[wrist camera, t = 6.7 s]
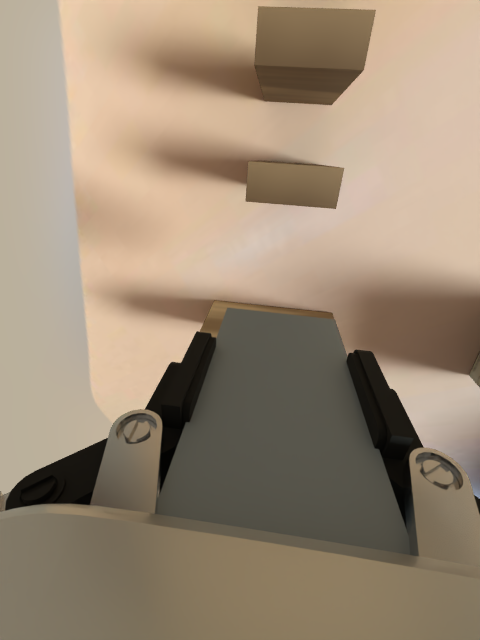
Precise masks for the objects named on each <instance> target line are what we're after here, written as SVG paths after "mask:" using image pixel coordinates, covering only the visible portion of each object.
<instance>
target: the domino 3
mask: <svg viewBox="0 0 480 640" xmlns="http://www.w3.org/2000/svg"><path fill="white" fill-rule="evenodd" d="M346 361H347V354H346V351H345V348H344V345H343V342H342V339H341V336H340V333H339V330H338V327H337V325H336V322H335V319H326V318H317V317H308V316H299V315H290V314H281V313H272V312H263V311H254V310H245V309H236V308H227V310H226V313H225V315H224V318H223V321H222V324H221V326H220V329H219V332H218V335H217V337H216V348H215V351H214V354H213V357H212V359H211V362H210V365H209V368H208V371H207V374H206V377H205V380H204V383H203V385H202V388H201V391H200V394H199V397H198V400H197V403H196V406H195V409H194V412H193V414H192V417H191V420H190V422H186V423H185V426H184V429H183V431H182V434H181V437H180V440H179V442H178V445H177V448H176V451H175V454H174V456H173V459H172V462H171V465H170V467H169V470H168V473H167V476H166V478H165V481H164V484H163V487H162V489H161V492H160V495H159V498H158V511H157V514H159V515H166V516H172V517H178V518H185V519H191V520H197V521H204V522H210V523H217V524H223V525H229V526H236V527H242V528H248V529H254V530H261V531H267V532H273V533H279V534H285V535H292V536H298V537H304V538H310V539H316V540H322V541H328V542H335V543H341V544H347V545H353V546H359V547H365V548H371V549H377V550H383V551H389V552H395V553H401V554H407V555H410V547H409V536H408V533H407V530H406V527H405V524H404V521H403V518H402V515H401V512H400V509H399V506H398V503H397V500H396V498H395V495H394V492H393V489H392V486H391V483H390V480H389V477H388V474H387V471H386V468H385V465H384V462H383V459H382V456H381V454H380V451H379V449H375V448H374V445H373V442H372V439H371V436H370V433H369V430H368V427H367V424H366V421H365V418H364V415H363V412H362V408H361V405H360V402H359V399H358V396H357V393H356V390H355V387H354V384H353V381H352V378H351V375H350V372H349V369H348V366H347V362H346Z"/></svg>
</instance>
